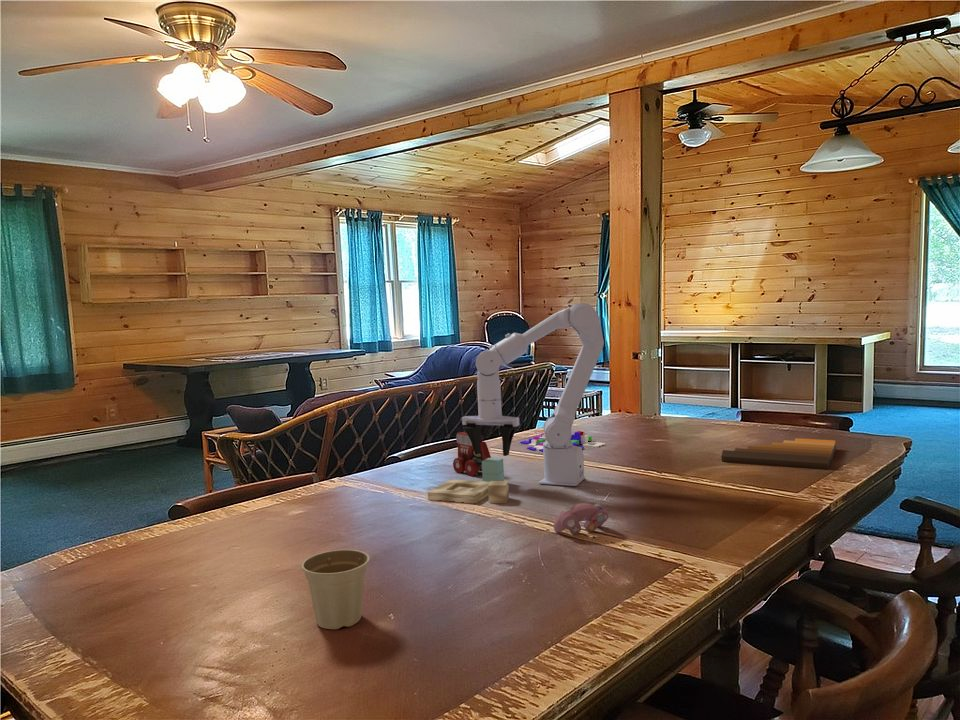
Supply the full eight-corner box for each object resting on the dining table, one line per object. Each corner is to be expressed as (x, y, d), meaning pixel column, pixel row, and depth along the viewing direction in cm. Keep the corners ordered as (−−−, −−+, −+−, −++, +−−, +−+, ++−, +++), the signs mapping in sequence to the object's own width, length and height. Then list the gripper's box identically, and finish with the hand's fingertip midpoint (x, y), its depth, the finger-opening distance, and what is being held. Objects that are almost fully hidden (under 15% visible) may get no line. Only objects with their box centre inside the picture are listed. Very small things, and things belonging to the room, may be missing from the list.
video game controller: (559, 544, 127) (564, 516, 123) (550, 527, 131) (555, 499, 127) (607, 537, 129) (613, 509, 126) (597, 521, 133) (603, 493, 130)
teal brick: (504, 482, 169) (503, 458, 168) (497, 486, 165) (496, 462, 165) (489, 481, 170) (488, 457, 170) (482, 485, 167) (481, 461, 166)
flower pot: (377, 604, 101) (373, 547, 100) (368, 633, 92) (365, 571, 91) (313, 607, 101) (309, 550, 100) (298, 638, 91) (294, 575, 91)
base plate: (496, 489, 162) (496, 482, 162) (475, 503, 151) (475, 495, 151) (451, 486, 167) (451, 479, 167) (428, 499, 156) (427, 492, 156)
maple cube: (508, 498, 155) (508, 480, 154) (506, 503, 151) (505, 485, 150) (491, 498, 155) (490, 480, 155) (488, 503, 151) (488, 485, 151)
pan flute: (721, 464, 179) (828, 472, 166) (721, 451, 178) (828, 458, 165) (740, 445, 200) (836, 451, 187) (739, 434, 200) (835, 439, 186)
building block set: (506, 449, 211) (505, 435, 211) (544, 438, 227) (544, 424, 226) (574, 457, 195) (574, 442, 195) (610, 445, 210) (610, 430, 210)
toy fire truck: (479, 478, 174) (476, 438, 173) (449, 471, 184) (447, 433, 183) (499, 473, 178) (497, 434, 178) (469, 466, 188) (467, 429, 187)
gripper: (523, 397, 167) (525, 452, 168) (469, 396, 173) (472, 449, 174) (512, 401, 160) (514, 458, 161) (457, 400, 167) (459, 455, 168)
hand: (491, 454), depth 167 cm, fingers open, 7 cm apart
